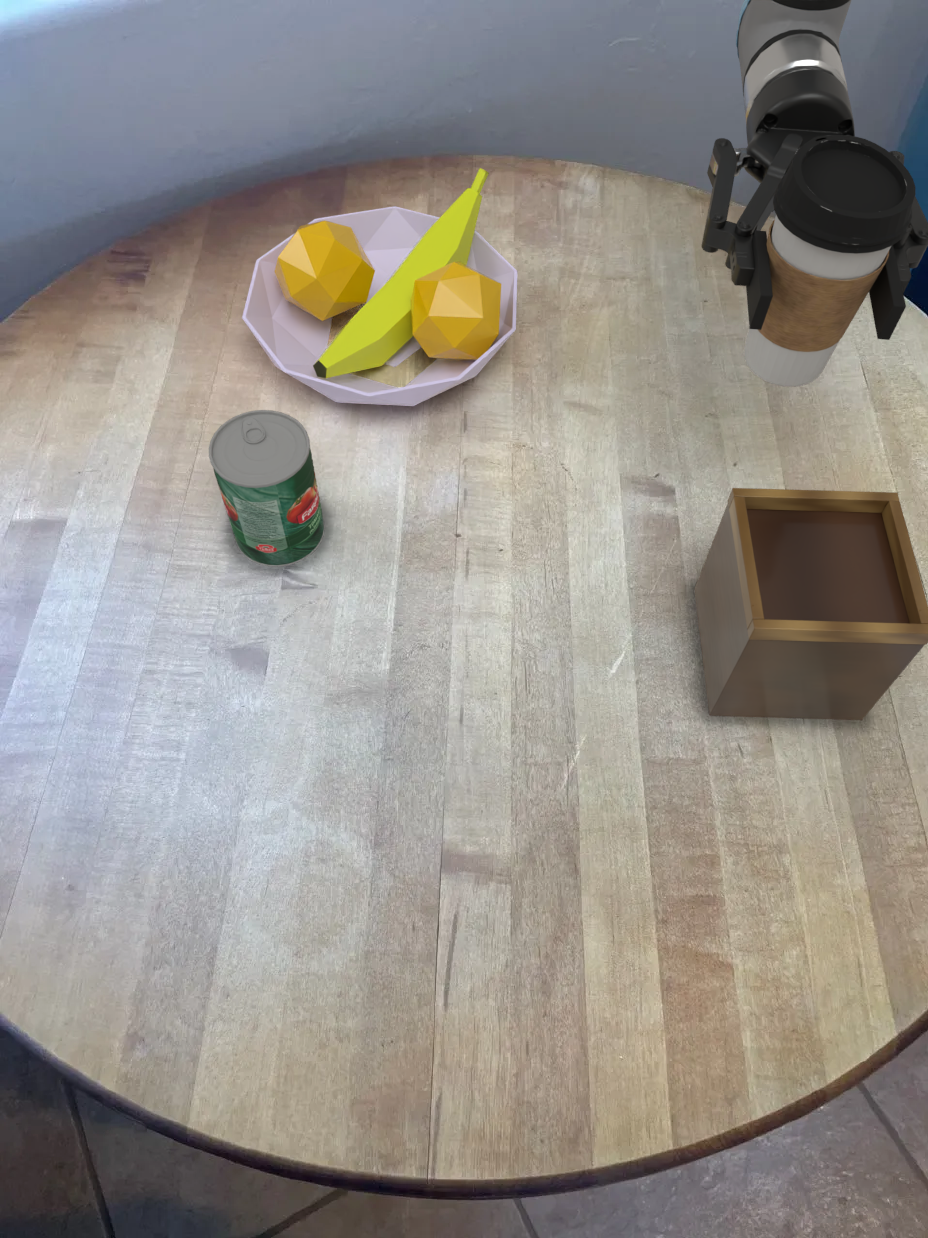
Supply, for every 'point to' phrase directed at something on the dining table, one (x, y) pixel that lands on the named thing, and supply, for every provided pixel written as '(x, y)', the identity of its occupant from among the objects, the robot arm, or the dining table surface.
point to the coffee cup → (826, 251)
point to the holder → (808, 604)
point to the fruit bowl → (384, 300)
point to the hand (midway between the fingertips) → (826, 317)
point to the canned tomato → (268, 486)
